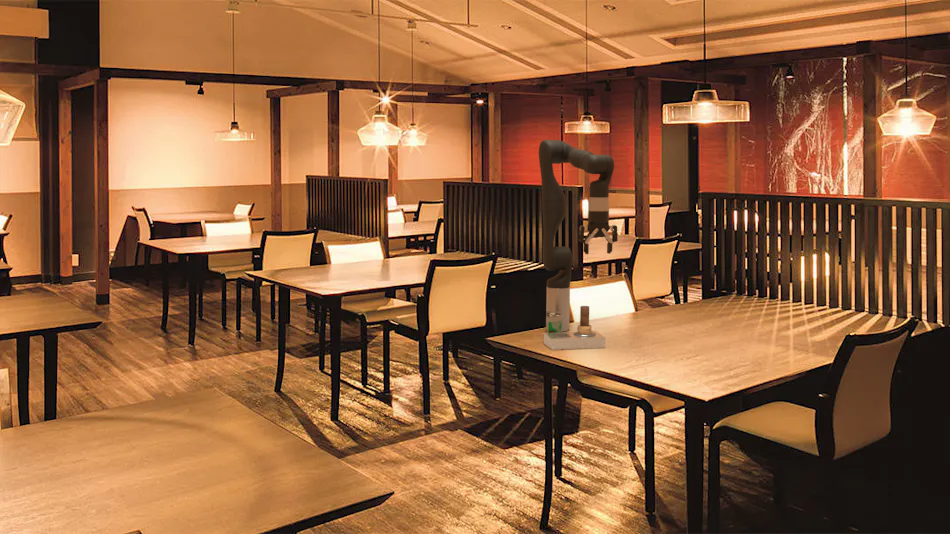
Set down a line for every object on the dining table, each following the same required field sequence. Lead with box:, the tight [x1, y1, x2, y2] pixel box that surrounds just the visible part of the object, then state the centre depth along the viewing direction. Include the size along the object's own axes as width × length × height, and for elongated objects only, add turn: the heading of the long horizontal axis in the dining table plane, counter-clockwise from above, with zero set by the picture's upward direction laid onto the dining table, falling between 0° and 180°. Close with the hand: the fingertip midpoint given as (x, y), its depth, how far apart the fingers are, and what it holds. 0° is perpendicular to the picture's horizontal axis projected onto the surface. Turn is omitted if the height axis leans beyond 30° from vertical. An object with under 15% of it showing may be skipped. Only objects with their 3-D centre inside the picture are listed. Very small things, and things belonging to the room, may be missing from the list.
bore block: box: [543, 330, 606, 351], centre depth 315 cm, size 11×20×4 cm, turn 100°
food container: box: [545, 311, 564, 333], centre depth 325 cm, size 12×6×10 cm, turn 179°
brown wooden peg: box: [577, 305, 592, 335], centre depth 315 cm, size 5×5×10 cm
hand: (597, 253), depth 318 cm, fingers open, 8 cm apart
